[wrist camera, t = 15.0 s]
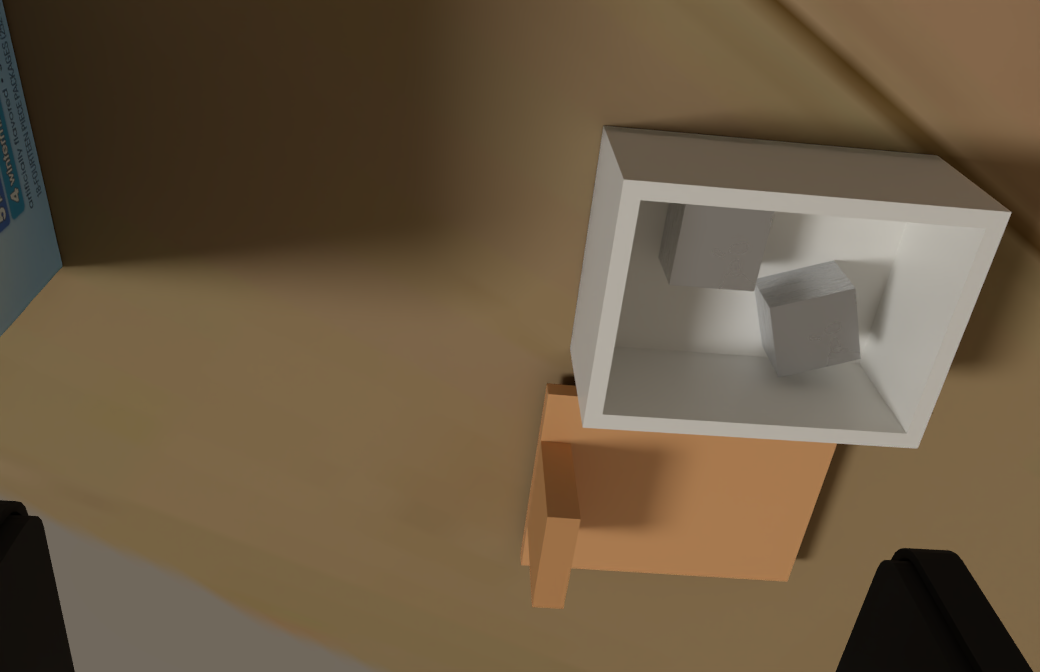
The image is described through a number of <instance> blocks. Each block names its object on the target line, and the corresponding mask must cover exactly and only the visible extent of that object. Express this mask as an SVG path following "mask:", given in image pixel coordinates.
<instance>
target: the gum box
mask: <svg viewBox="0 0 1040 672" xmlns="http://www.w3.org/2000/svg"><path fill="white" fill-rule="evenodd" d="M61 268H62V261H61V257H60V252H59V248H58V244H57V240H56V235H55V231H54V226H53V222H52V217H51V212H50V208H49V204H48V199H47V195H46V191H45V186H44V182H43V177H42V173H41V169H40V164H39V160H38V156H37V151H36V147H35V142H34V138H33V134H32V129H31V125H30V120H29V116H28V112H27V107H26V103H25V98H24V94H23V90H22V85H21V81H20V76H19V72H18V68H17V63H16V59H15V55H14V50H13V46H12V42H11V37H10V33H9V29H8V24H7V20H6V16H5V11H4V7H3V3H2V0H0V336H1V335H2V334H3V333H4V332H5V331H6V330H7V329H8V328H9V326H10V325H11V324H12V323H13V322H14V321H15V320H16V319H17V317H18V316H19V315H20V314H21V313H22V312H23V311H24V310H25V308H26V307H27V306H28V305H29V303H30V302H31V301H32V300H33V299H34V298H35V297H36V295H37V294H38V293H39V292H40V291H41V290H42V289H43V288H44V287H45V285H46V284H47V283H48V282H49V281H50V280H51V279H52V277H53V276H54V275H55V274H56V273H57V272H58V271H59V270H60V269H61Z"/></svg>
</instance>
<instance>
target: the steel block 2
mask: <svg viewBox="0 0 1040 672" xmlns="http://www.w3.org/2000/svg"><path fill="white" fill-rule="evenodd" d="M755 297H756V304H757V311H758V319H759V326H760V333H761V341H762V347H763V349H764V350H765V352H766V354H767V356H768V358H769V360H770V362H771V364H772V366H773V368H774V370H775V372H776V374H777V376H778V377H783V376H788V375H792V374H797V373H801V372H805V371H810V370H814V369H819V368H823V367H827V366H832V365H836V364H841V363H845V362H850V361H854V360H858V359H861V357H860V344H859V330H858V316H857V302H856V289H855V287H854V286H853V284H852V283H851V282H850V280H849V279H848V278H847V277H846V275H845V274H844V273H843V271H842V270H841V269H840V268H839V266H838V265H837V264H836V262H835V261H834V260H833V261H829V262H825V263H820V264H816V265H812V266H808V267H803V268H799V269H795V270H791V271H787V272H782V273H778V274H774V275H770V276H765V277H761V278H757V282H756V286H755Z"/></svg>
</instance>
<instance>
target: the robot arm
mask: <svg viewBox="0 0 1040 672" xmlns="http://www.w3.org/2000/svg"><path fill="white" fill-rule="evenodd" d="M0 672H75V671H74V667H73V662H72V657H71V653H70V648H69V643H68V638H67V634H66V629H65V624H64V620H63V615H62V611H61V605H60V601H59V596H58V591H57V587H56V582H55V577H54V573H53V568H52V563H51V559H50V554H49V549H48V545H47V540H46V535H45V530H44V526H43V523H42V520H41V519H40V518H39V517H38V516H28V513H27V510H26V507H25V506H24V505H23V504H22V503H21V502H17V501H2V500H0ZM836 672H1033V671H1032V669H1031V668H1030V666H1029V665H1028V663H1027V661H1026V660H1025V658H1024V657H1023V655H1022V654H1021V652H1020V650H1019V649H1018V647H1017V646H1016V644H1015V643H1014V641H1013V639H1012V638H1011V636H1010V635H1009V633H1008V632H1007V630H1006V628H1005V627H1004V625H1003V624H1002V622H1001V621H1000V619H999V617H998V616H997V614H996V613H995V611H994V610H993V608H992V606H991V605H990V603H989V602H988V600H987V599H986V597H985V595H984V594H983V592H982V591H981V589H980V588H979V586H978V584H977V583H976V581H975V580H974V578H973V577H972V575H971V573H970V572H969V570H968V569H967V567H966V566H965V564H964V562H963V561H962V560H961V559H960V557H959V556H958V555H957V554H956V553H954V552H952V551H948V550H929V549H910V548H902V549H899V550H898V551H897V552H895V554H894V555H893V557H892V559H891V560H884V561H883V562H881V563H880V565H879V567H878V568H877V571H876V573H875V576H874V578H873V581H872V583H871V586H870V588H869V591H868V593H867V595H866V598H865V600H864V603H863V605H862V608H861V610H860V613H859V615H858V618H857V620H856V623H855V625H854V628H853V630H852V633H851V635H850V638H849V640H848V643H847V645H846V647H845V650H844V652H843V655H842V657H841V660H840V662H839V665H838V667H837V670H836Z"/></svg>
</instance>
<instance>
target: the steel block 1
mask: <svg viewBox="0 0 1040 672" xmlns="http://www.w3.org/2000/svg"><path fill="white" fill-rule="evenodd" d="M774 212H775V211H765V210H753V209H741V208H729V207H717V206H704V205H692V204H680V203H669V204H668V210H667V215H666V220H665V225H664V230H663V235H662V240H661V246H660V251H659V256H658V258H659V260H660V263H661V265H662V268H663V271H664V273H665V276H666V278H667V281H668V284H669V285H675V286H688V287H701V288H714V289H728V290H741V291H754V290H755V286H756V282H757V278H758V274H759V270H760V266H761V262H762V259H763V255H764V251H765V247H766V243H767V239H768V235H769V231H770V228H771V224H772V220H773V216H774Z"/></svg>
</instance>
